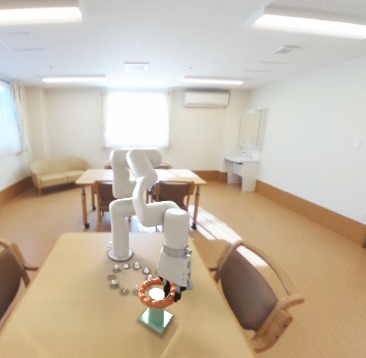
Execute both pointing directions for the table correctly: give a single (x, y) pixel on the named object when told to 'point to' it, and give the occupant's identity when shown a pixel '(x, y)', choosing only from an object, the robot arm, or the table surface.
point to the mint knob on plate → (156, 312)
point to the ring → (155, 303)
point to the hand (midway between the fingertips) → (172, 297)
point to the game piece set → (135, 267)
